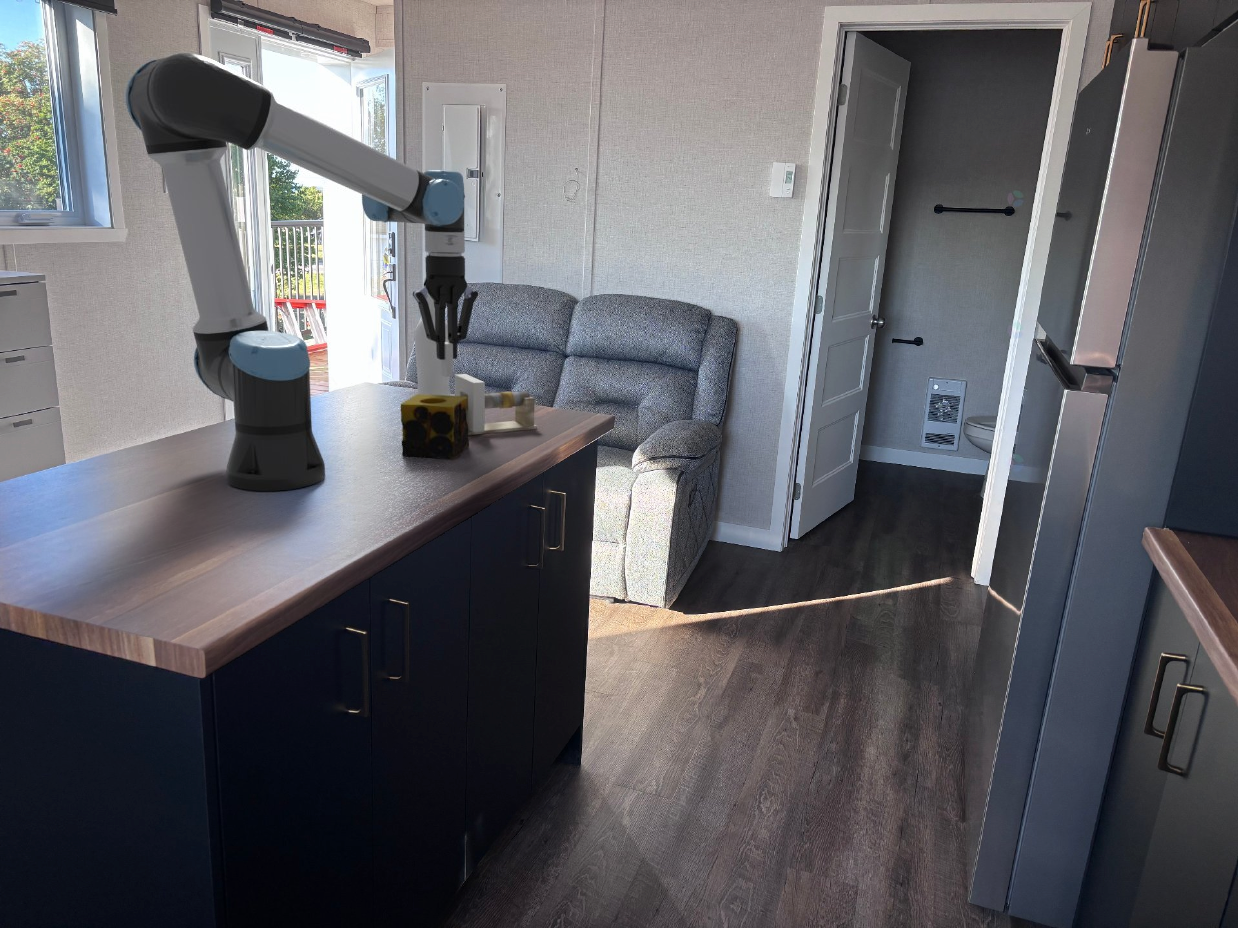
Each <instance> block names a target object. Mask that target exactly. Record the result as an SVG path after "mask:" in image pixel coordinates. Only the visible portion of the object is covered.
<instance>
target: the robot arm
mask: <svg viewBox="0 0 1238 928" xmlns="http://www.w3.org/2000/svg"><path fill="white" fill-rule="evenodd" d="M125 103H126V104H125V105H126V108H127V112H128V113H129V116H130V118H131V120H132V122H133V123H134V124H135V126H136V127H137V129H139V130H140V131H141V134H142V138H143V141H144V142H143V143H144V146H145V149H146V153H147V156H148V158H150V159H151V160H153V161H154V162H156V163H157V164H158V165H159V166H160V167H161V170H162V174H163V176H164V180H165V181H164V182H165V185H166V189H167V193H168V197H169V201H170V202H169V203H170V206H171V210H172V213H173V217H174V221H175V224H176V228H177V232H178V236H179V240H180V245H181V248H182V253H183V256H184V261H185V263H186V264H185V265H186V268H187V273H188V276H189V280H190V285H191V288H192V292H193V296H194V300H195V304H196V308H197V311H198V315H199V317H198V319H197V322H196V323H195V324H194V326H193V327H192V333H193V336H194V339H195V343H196V347H195V349H194V354H193V364H194V366H193V367H194V369H195V372H196V375H197V377H198V378H199V380H200V381H201V383H202V384H203V385H204V386H205V387H206V388H207V389H209V391H210V392H212V393H213V394H214V395H216V396H219V397H220V398H221V399H224V400H229V401H231V402H232V403H233V415H234V426H235V436H234V439H233V443H232V446H231V449H230V450H231V451H230V454H229V457H228V461H227V465H226V471H225V472H226V482H227V484H228V485H229V486H232V487H234V488H236V489H237V488H238V489H242V490H245V491H247V490H248V491H259V492H273V491H274V492H275V491H276V492H277V491H287V490H296V489H301V488H305V487H309V486H313V485H314V484H317V483H320V482H322V481H323V480H324V479H325V477H326V468H325V467H326V465H325V461H324V459H323V456H322V453H321V451H320V448H319V446H318V443H317V441H316V438H315V435H314V433H313V428H312V427H313V424H312V402H311V401H312V400H311V399H312V398H311V375H310V371H311V370H310V369H311V368H310V367H311V359H310V356H309V351H308V350H309V349H308V345H307V344H306V342H305V341H304V340H303V339H302V338H301V337H299V336H296V335H295V334H294V335H293V334H291V333H285V332H280V331H274V330H269V325H268V322H267V318H266V316H265V315H263V314H262V313H260V312H259V311H257V310H256V309H255V306H254V302H253V298H252V295H251V291H250V289H251V288H250V285H249V282H248V277H247V272H246V267H245V264H244V258H243V254H242V250H241V247H240V242H239V238H238V232H237V230H236V225H235V220H234V216H233V211H232V207H231V204H230V203H231V202H230V199H229V194H228V190H227V186H226V182H225V181H226V180H225V178H224V174H223V173H224V172H223V169H222V168H223V167H222V164H221V160H222V157H223V156H224V154H225V153H226V152H227V150H228V145H227V143H229V144H232V145H234V146H237V147H239V148H241V149H244V150H246V151H250V150H253V149H255V148H256V149H257V148H258V149H260V150H262V151H265V152H267V153H268V154H271V155H273V156H276V157H278V158H280V159H282V160H285V161H287V162H289V163H291V164H292V165H296V166H297V167H300V168H303V169H305V170H307V171H309V172H312V173H314V174H316V175H318V176H321V177H323V178H325V179H328V181H330V182H331V181H332V182H334V183H336V184H338V185H341V186H343V187H345V188H347V189H349V190H350V191H351V190H352V191H353V192H357V193H359V194H361V205H362V210H363V211H364V214H365V216H366V217H367V218H368V219H369V220H371V221H373V222H383V223H388V222H389V223H405V224H407V223H408V224H420V225H421V224H422V225H424V252H426V253H428V255H426V256H425V259H424V260H425V261H424V262H425V277H426V280H425V279H424V280H425V281H424V282H423V287H421V288H420V289H419V290H414V291H412V296H413V299H414V300H415V301H416V303H417V305H418V308H419V313H420V317H421V319H422V321H423V325H424V329H425V332H426V336H427V338H428V339H430V340H432V341H435V342H436V351H437V358H438V359H440V360H441V375H443V376H445V377H449V378H451V377H454V360H455V359H456V360H457V359H458V344H459V343H460V341H462V340H465V339H467V336H468V335H467V334H468V331H469V326H470V321H471V318H472V312H473V308H474V303H475V301H476V300H477V298H478V296H479V292H478V291H476V290H473V289H472V288H471V287H469V286H468V283H467V281H466V258H465V256H464V255H462V254H464V253H465V252H466V251H465V250H466V247H465V245H466V243H465V241H466V238H465V237H466V236H465V233H466V232H465V198H466V195H465V183H464V177H463V175H462V173H461V172H459V171H454V170H439V169H438V170H437V169H436V170H435V169H434V170H433V169H432V170H431V169H428V170H425V171H424V172H422V171H419V170H417V169H415V168H413V167H412V166H410V165H407V164H406V163H403V162H401V161H399V160H397V159H395V158H393V157H392V156H389V155H388V154H385V153H383V152H382V151H380V150H377V149H376V148H373V147H371V146H370V145H367V144H365V143H363V142H361V141H359V140H358V139H355V138H354V137H352V136H349V135H347V134H346V133H343V132H341V131H339V130H337V129H335V128H333V127H331V126H329V125H327V124H324V123H323V122H322V121H320V120H317V119H315V118H313V117H311V116H309V115H307V114H305V113H303V112H301V111H299V110H296V109H295V108H294V107H293V108H292V107H291V106H288V105H287V104H285V103H283V102H281V101H279V100H277V99H275V96H274V95H273V91H272V90H271V89H270V88H268V87H266V86H264V85H263V84H260V83H259V82H256V81H254V80H253V79H250V78H249V77H247V76H245V75H243V74H242V73H239V72H238V71H236V70H234V69H232V68H229V67H228V66H226V65H224V64H222V63H220V62H218V61H216V60H214V59H211V58H210V57H206V56H204V55H201V54H197V53H190V52H182V53H177V54H172V55H170V56H166V57H162V58H157V59H152V60H149V61H148V62H146V63H144V64H142V66H140V67H138V68H137V70H136V71H135V72H134V73H133V75H132V76H131V77H130V79H129V81H128V83H127V86H126V90H125ZM427 292H428V294H429V295H430V296H431V298H432V299H433V300H434V307H435V328H434V324H433V321H432V317H431V313H430V309H429V305H428V302H427V300H426V299H427V298H428V296H427ZM462 295H463V302H462V306H461V310H460V314H458V308H459V301H460V299H461V298H462ZM446 313H447V314H446ZM458 315H459V319H458ZM446 317H447V318H446ZM446 319H447V320H446ZM445 321H446V322H447V324H448V340H449V342H445V341H446V339H445Z"/></svg>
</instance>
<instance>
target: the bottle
mask: <svg viewBox="0 0 1238 928" xmlns="http://www.w3.org/2000/svg"><path fill="white" fill-rule="evenodd" d="M425 280H426V276H425V277H424V282H425ZM427 296H428V298H427V299H426V300H427V302H428V305H429V309H430V313H431V317H432V321H433V324H434V328H435V307H434V300H433V299H432V298H431V296H430V295H429V294H428V292H427ZM413 335H414V337H413V338H414V350H415V361H416V362H415V363H416V364H415V365H416V376H417V390H416V394H415V395H417V394H424V395H445V396H452V394H451V391H450V377H445V376H443V375H441V360H440V359H438V358H437V351H436V342H435V341H432V340H430V339H428V338H427V336H426V332H425V329H424V325H423V321H422V318H421V319H419V321H418V323H417V325H416V326H415V329H414V334H413ZM445 339H446V341H445V342H449V340H448V324H447V320H445Z"/></svg>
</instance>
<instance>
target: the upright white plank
mask: <svg viewBox="0 0 1238 928" xmlns="http://www.w3.org/2000/svg"><path fill="white" fill-rule="evenodd" d="M485 386H486V383H485V381H482V380H480V379H478V378H476V377H473V376H471V375H469V374H467V373H458V374H456V373H455V374H454V396H464V395H468V410H467V411H466V421H467V424H468V429H469V430H470V431H472V432H481V431H485V422H486V421H485V416H486V414H485V413H486V411H485V394H486V393H485V392H486V387H485Z"/></svg>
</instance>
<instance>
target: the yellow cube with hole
mask: <svg viewBox="0 0 1238 928" xmlns="http://www.w3.org/2000/svg"><path fill="white" fill-rule="evenodd" d="M416 394H417V393H416ZM416 394H414V396H411V397H410V398H408V399H406V400H405V401H403V402H401V403H400V422H401V425H402V429H401V430H402V434H401V435H402V439H401V446H402V447H401V448H402V453H401V456H404V457H409V458H410V457H412V458H413V457H414V458H427V459H441V460H453V459H454V460H455V459H456V458H457V457H459V456H460V455H461V454H463V453H464V451H465V450H466V449H468V448H469V446H470V443H469V442H470V440H469V436H470V435H468V424H467V421H466V411H467V401H468V397H467V396H455V395H451V396H445V395H424V394H417V395H416Z"/></svg>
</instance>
